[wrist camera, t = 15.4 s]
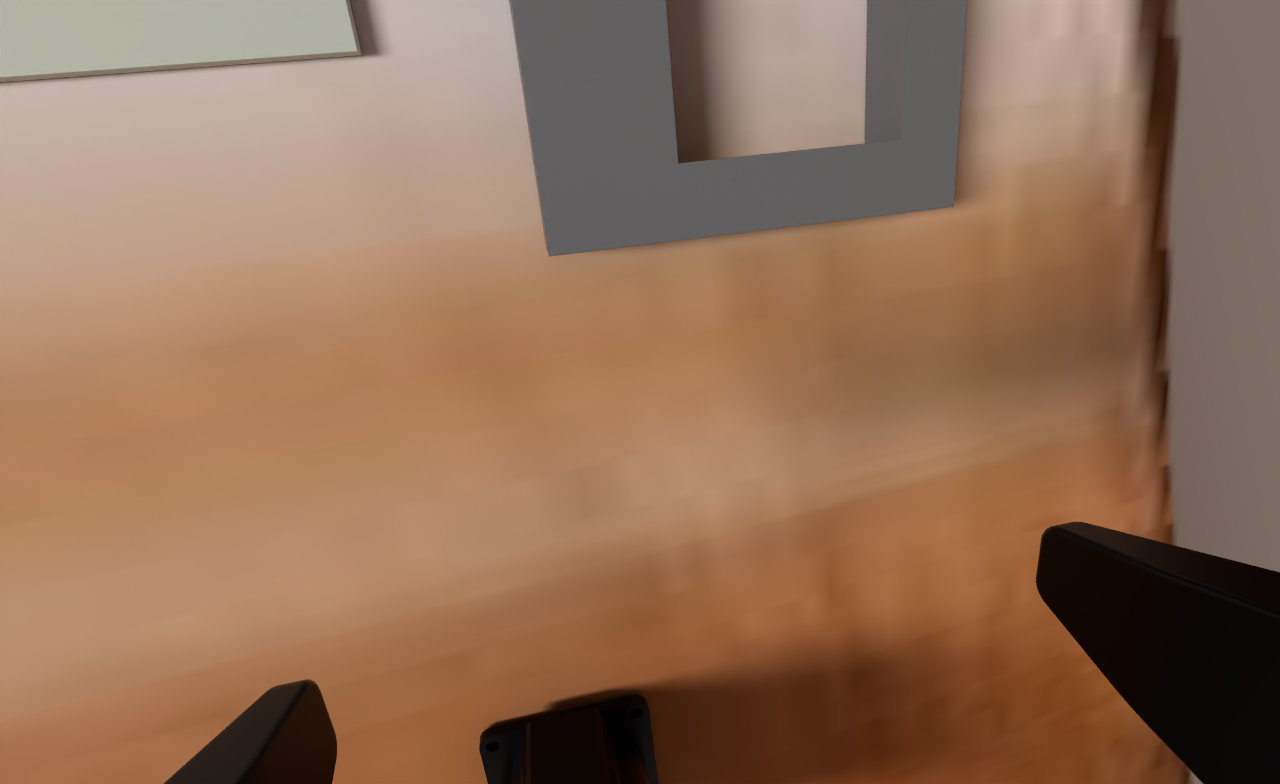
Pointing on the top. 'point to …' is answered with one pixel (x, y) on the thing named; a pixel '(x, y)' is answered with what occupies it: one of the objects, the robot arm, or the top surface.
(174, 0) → the mat
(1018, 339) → the top surface
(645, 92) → the puzzle board
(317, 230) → the top surface
